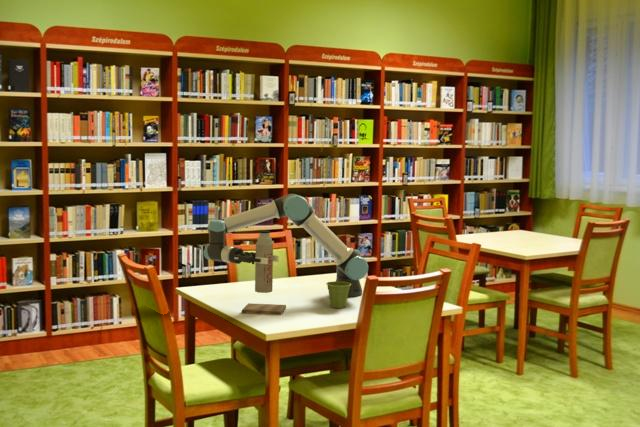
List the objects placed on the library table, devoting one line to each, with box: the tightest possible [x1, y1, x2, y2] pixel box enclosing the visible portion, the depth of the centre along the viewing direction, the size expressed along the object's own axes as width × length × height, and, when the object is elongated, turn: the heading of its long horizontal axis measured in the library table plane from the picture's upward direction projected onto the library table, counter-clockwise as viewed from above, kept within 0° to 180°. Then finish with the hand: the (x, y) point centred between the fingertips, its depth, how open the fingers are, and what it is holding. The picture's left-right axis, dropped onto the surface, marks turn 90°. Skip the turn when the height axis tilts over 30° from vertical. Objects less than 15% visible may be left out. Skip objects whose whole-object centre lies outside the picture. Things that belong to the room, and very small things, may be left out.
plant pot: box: [326, 280, 351, 309], centre depth 356 cm, size 12×12×11 cm
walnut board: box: [241, 302, 287, 316], centre depth 347 cm, size 18×14×2 cm
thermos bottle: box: [254, 229, 274, 294], centre depth 345 cm, size 8×8×28 cm
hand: (272, 260), depth 342 cm, fingers closed on thermos bottle, 8 cm apart
